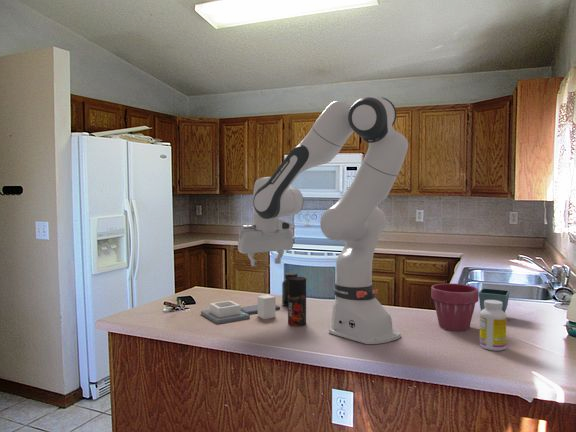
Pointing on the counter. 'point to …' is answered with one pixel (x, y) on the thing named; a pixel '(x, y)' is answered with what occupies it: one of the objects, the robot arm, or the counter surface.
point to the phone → (254, 309)
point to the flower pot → (493, 297)
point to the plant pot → (454, 305)
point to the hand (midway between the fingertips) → (265, 264)
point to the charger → (266, 306)
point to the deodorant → (297, 301)
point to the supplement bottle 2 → (493, 326)
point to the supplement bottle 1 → (286, 287)
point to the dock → (225, 312)
